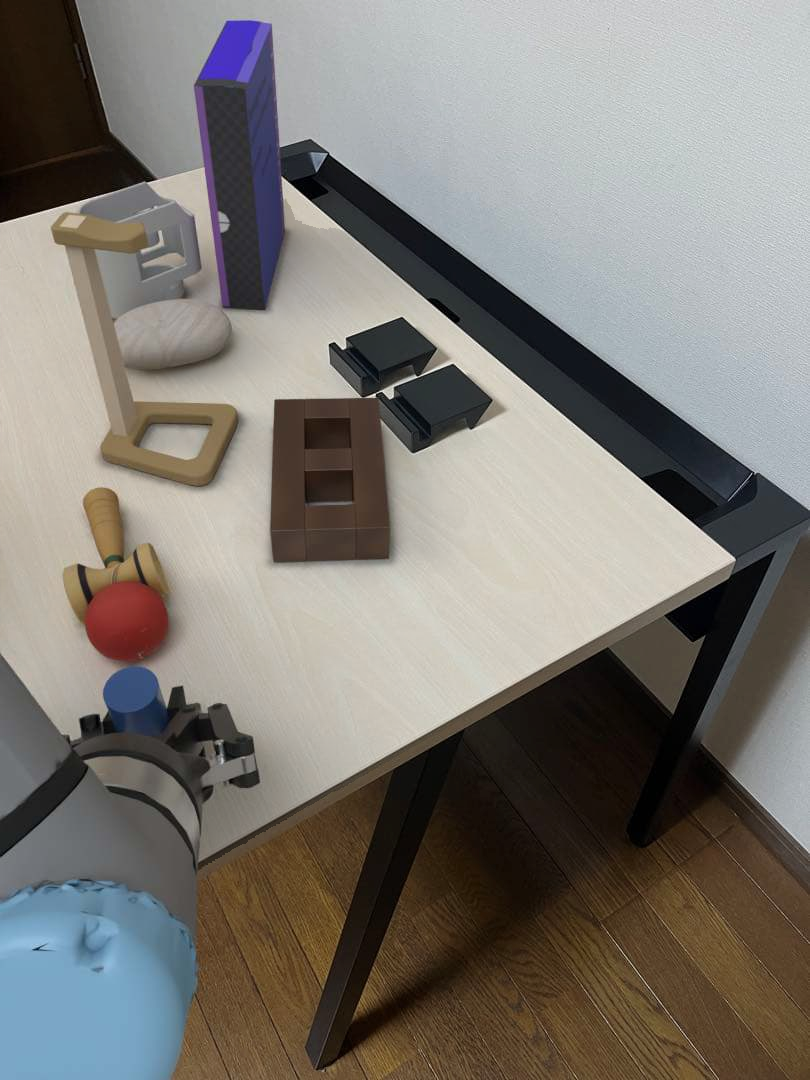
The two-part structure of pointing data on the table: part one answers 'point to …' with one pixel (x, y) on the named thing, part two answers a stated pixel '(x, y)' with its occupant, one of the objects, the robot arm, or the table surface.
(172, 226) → the cable organizer
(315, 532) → the rack
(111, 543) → the kendama
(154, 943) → the robot arm
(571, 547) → the table surface
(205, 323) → the decorative stone
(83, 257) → the headphone stand
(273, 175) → the cereal box
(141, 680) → the peg
